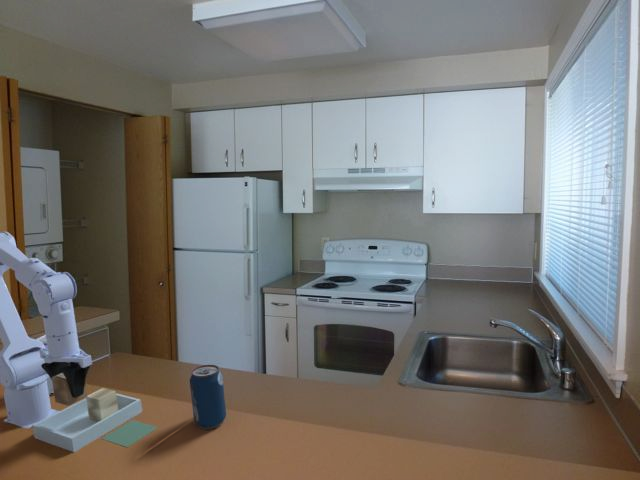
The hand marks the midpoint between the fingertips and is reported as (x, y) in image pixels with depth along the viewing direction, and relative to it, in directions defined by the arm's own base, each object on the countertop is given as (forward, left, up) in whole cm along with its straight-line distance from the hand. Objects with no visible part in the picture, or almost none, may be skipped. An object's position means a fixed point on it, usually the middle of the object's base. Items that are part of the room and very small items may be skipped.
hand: (70, 393), depth 103 cm
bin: (0, +3, -9) cm, 10 cm away
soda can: (+24, +15, -10) cm, 30 cm away
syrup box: (-26, +12, -10) cm, 30 cm away
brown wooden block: (0, 0, -1) cm, 1 cm away
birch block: (0, +7, -9) cm, 11 cm away
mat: (+11, +4, -9) cm, 15 cm away
